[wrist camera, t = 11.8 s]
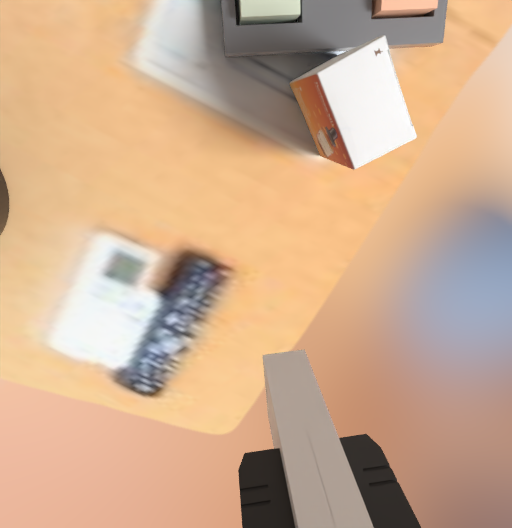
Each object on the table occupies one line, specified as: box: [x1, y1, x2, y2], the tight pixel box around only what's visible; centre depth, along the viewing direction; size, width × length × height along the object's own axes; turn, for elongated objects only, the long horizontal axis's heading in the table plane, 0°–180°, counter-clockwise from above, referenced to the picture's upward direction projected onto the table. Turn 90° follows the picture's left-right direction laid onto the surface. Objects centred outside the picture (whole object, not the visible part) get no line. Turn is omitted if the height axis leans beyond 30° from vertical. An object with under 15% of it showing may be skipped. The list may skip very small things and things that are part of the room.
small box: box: [289, 35, 417, 169], centre depth 33 cm, size 8×6×10 cm
